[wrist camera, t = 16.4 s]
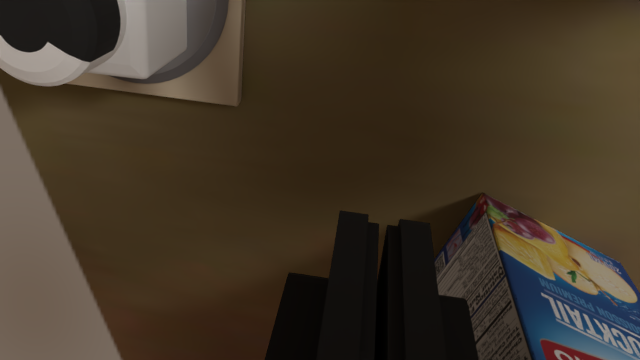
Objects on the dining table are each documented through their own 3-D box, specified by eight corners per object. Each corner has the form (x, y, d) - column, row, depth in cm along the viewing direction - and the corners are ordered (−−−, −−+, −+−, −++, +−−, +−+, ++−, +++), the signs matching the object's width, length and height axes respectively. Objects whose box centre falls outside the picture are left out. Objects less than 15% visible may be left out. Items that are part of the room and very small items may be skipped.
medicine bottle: (70, -82, 35) (-73, -74, 24) (187, -69, 34) (95, -56, 24) (81, 38, 38) (-41, 93, 27) (188, 51, 37) (107, 111, 27)
